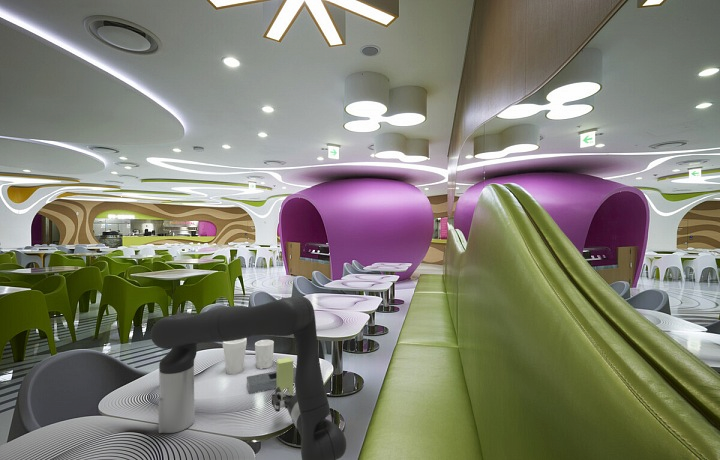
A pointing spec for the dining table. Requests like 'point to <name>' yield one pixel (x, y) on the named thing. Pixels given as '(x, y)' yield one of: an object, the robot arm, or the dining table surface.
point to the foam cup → (234, 355)
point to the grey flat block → (264, 381)
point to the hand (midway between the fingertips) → (291, 387)
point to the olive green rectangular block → (285, 374)
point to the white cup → (264, 353)
